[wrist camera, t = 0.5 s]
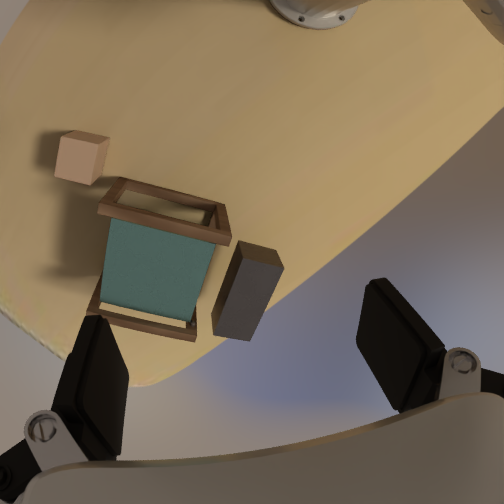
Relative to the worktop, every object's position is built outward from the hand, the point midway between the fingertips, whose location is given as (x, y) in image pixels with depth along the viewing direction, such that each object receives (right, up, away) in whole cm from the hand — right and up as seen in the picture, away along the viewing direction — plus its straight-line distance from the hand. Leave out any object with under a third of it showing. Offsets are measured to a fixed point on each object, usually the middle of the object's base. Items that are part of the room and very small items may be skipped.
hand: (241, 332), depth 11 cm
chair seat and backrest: (-8, 0, +29) cm, 30 cm away
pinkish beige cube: (-21, +16, +26) cm, 36 cm away
